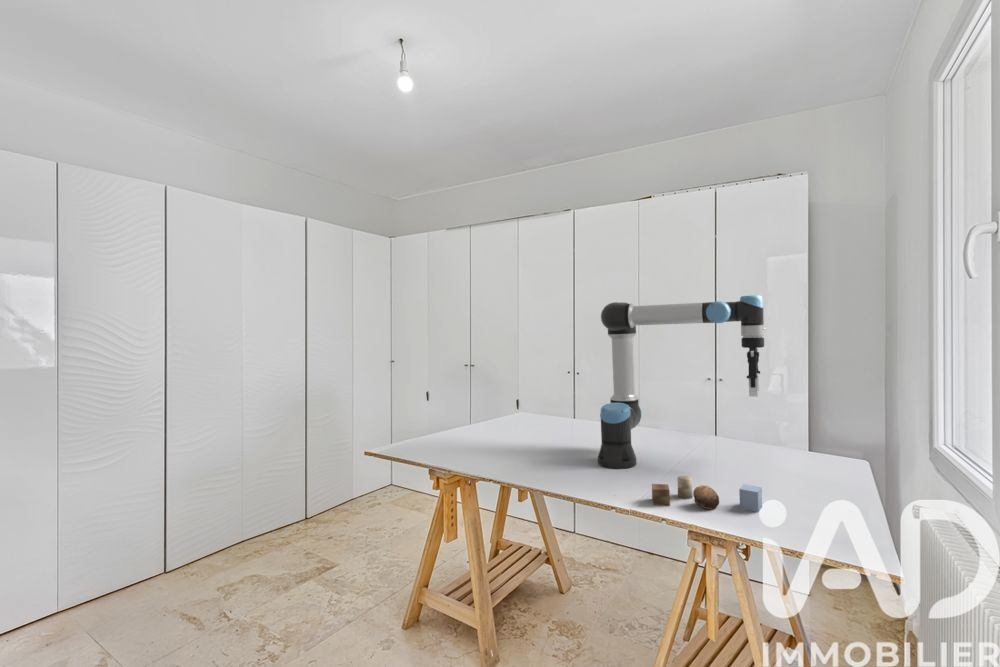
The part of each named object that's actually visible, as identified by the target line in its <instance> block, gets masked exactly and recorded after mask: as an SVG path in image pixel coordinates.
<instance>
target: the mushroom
mask: <svg viewBox="0 0 1000 667" xmlns="http://www.w3.org/2000/svg"><path fill="white" fill-rule="evenodd" d="M692 496H693V498H694V503H695V504H697V505H700V506H701V507H703V508H704V509H708V510H714V509H716V508H717V507H718V506H719V505H720V497H719V495H718V493H717V492H716V491H715V490H714V488H712V487H710V486H708V485H704V484H703V485H702V484H701V485H698V486H696V487H695V488H694V490H692Z"/></svg>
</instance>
